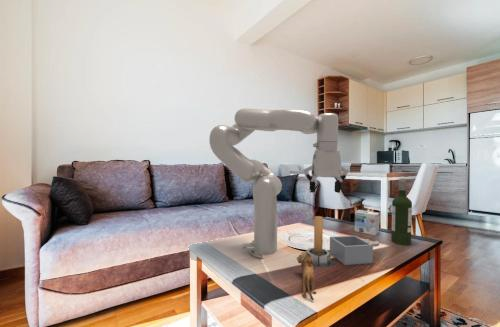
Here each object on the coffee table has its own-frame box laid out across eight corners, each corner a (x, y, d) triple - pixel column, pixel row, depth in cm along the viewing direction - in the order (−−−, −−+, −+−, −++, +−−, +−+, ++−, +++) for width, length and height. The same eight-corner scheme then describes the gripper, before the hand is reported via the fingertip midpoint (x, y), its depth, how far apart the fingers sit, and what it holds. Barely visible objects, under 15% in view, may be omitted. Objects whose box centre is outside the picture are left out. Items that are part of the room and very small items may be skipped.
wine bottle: (414, 245, 111) (416, 179, 110) (395, 244, 112) (397, 179, 111) (406, 239, 119) (407, 177, 118) (388, 239, 120) (389, 177, 119)
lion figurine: (295, 276, 82) (295, 249, 82) (311, 276, 82) (311, 249, 82) (303, 302, 67) (304, 269, 67) (323, 302, 67) (323, 270, 67)
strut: (314, 263, 88) (315, 219, 88) (308, 257, 93) (309, 215, 93) (327, 262, 89) (328, 218, 89) (321, 256, 94) (321, 215, 94)
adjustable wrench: (346, 257, 99) (346, 253, 99) (332, 252, 104) (333, 248, 104) (381, 245, 112) (381, 241, 112) (368, 241, 117) (368, 237, 117)
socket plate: (310, 271, 85) (310, 258, 85) (298, 258, 96) (298, 247, 96) (339, 269, 87) (339, 256, 87) (324, 257, 98) (325, 245, 98)
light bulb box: (354, 231, 132) (354, 211, 132) (357, 228, 137) (358, 209, 137) (375, 235, 125) (376, 214, 125) (379, 232, 130) (379, 212, 130)
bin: (344, 269, 87) (345, 246, 87) (329, 256, 98) (329, 236, 98) (372, 267, 89) (373, 245, 89) (354, 255, 100) (355, 235, 100)
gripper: (307, 145, 88) (306, 193, 88) (353, 147, 90) (351, 194, 90) (301, 146, 95) (299, 190, 96) (343, 147, 97) (342, 191, 98)
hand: (325, 192), depth 93 cm, fingers open, 9 cm apart
